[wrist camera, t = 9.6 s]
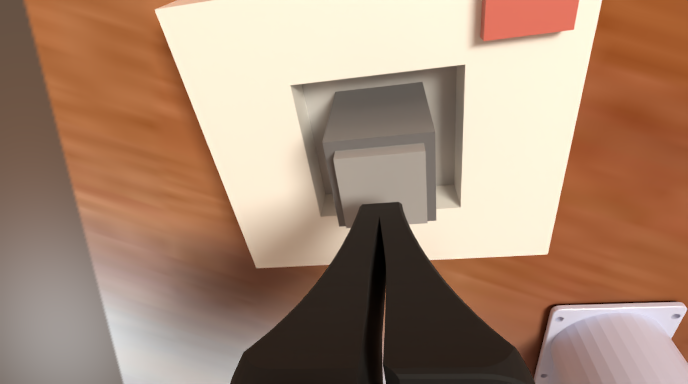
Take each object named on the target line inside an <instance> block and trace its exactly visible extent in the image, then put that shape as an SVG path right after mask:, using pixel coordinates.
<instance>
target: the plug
mask: <svg viewBox="0 0 688 384" xmlns="http://www.w3.org/2000/svg"><path fill="white" fill-rule="evenodd" d="M322 143H323V148H324V153H325V158H326V163H327V168H328V173H329V178H330V183H331V188H332V193H333V198H334V203H335V208H336V213H337V218H338V223H339V227H342V226H346V228H351V227H352V225H353V223H354V220H355V218H356V215H357V213H358V210H359V207H360V206H361V205H362V204H374V203H388V202H400V203H401V204H402V207H403V211H404V214H405V217H406V219H407V221H408V224H423V223H428V222H427V221H436V149H435V129H434V125H433V121H432V117H431V113H430V109H429V105H428V101H427V98H426V94H425V90H424V86H423V82H416V83H408V84H399V85H390V86H381V87H373V88H364V89H355V90H346V91H338V92H335V95H334V99H333V103H332V107H331V111H330V115H329V119H328V122H327V126H326V130H325V134H324V138H323V142H322Z"/></svg>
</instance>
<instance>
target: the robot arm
mask: <svg viewBox="0 0 688 384" xmlns="http://www.w3.org/2000/svg"><path fill="white" fill-rule="evenodd" d="M385 289H386V311H385V338H384V357H383V367H384V373H385V380H386V384H688V363H687V362H686V360H685V359H684V357H683V356H682V355H681V353H680V352H679V350H678V349H677V347H676V346H675V344H674V343H673V341H672V340H671V338H672V336H673V334H674V332H675V331H676V329H677V327H678V325H679V324H680V322H681V320H682V318H683V316H684V315H685V313H686V311H687V308H686V306H685V305H684V304H683V303H681V302H656V303H622V304H588V305H559V306H555V307H553V308H552V309H551V312H550V316H549V320H548V324H547V328H546V332H545V336H544V340H543V344H542V348H541V352H540V356H539V360H538V364H537V368H536V372H535V376H534V379H533V377H532V375H531V373H530V371H529V369H528V368H527V366H526V364H525V362H524V361H523V359H522V357H521V356H520V354H519V352H518V351H517V349H516V348H515V347H514V346H513V345H511V344H510V343H509V342H508V341H506V340H505V339H504V338H503V337H501V336H500V335H499V334H498V333H497V332H495V331H494V330H493V329H492V328H491V327H489V326H488V325H487V324H486V323H485V322H484V321H483V320H482V319H481V318H480V317H478V316H477V315H476V314H475V313H474V312H473V311H472V310H471V309H470V308H469V307H468V306H467V305H466V304H465V303H464V301H463V300H462V299H461V298H460V297H459V296H458V295H457V294H456V293H455V292H454V291H453V290H452V289H451V287H450V286H449V285H448V284H447V283H446V282H445V280H444V279H443V278H442V277H441V275H440V274H439V273H438V271H437V270H436V269H435V267H434V266H433V265H432V263H431V262H430V260H429V259H428V257H427V256H426V254H425V253H424V251H423V250H422V248H421V246H420V245H419V243H418V241H417V239H416V238H415V236H414V234H413V232H412V230H411V228H410V226H409V224H408V221H407V219H406V217H405V214H404V211H403V207H402V204H401V203H400V202H388V203H374V204H362V205H361V206H360V207H359V210H358V213H357V215H356V218H355V220H354V223H353V225H352V227H351V229H350V231H349V233H348V235H347V237H346V238H345V240H344V242H343V244H342V246H341V248H340V249H339V251H338V252H337V254H336V256H335V257H334V259H333V260H332V262H331V264H330V265H329V267H328V268H327V269H326V271H325V272H324V274H323V275H322V276H321V278H320V279H319V280H318V282H317V283H316V284H315V285H314V287H313V288H312V289H311V290H310V291H309V292H308V294H307V295H306V296H305V297H304V298H303V299H302V301H301V302H300V303H299V304H298V305H297V306H296V307H295V308H294V309H293V310H292V311H291V312H290V313H289V314H288V315H287V316H286V317H285V318H284V319H283V320H282V321H281V322H280V323H278V324H277V325H276V326H275V327H274V328H273V329H272V330H271V331H270V332H269V333H267V334H266V335H265V336H264V337H262V338H261V339H260V340H259V341H257V342H256V343H255V344H254V345H252V346H251V347H250V348H249V349H247V350H246V351H245V352H244V353H243V355H242V357H241V359H240V361H239V363H238V366H237V368H236V370H235V372H234V375H233V377H232V380H231V383H230V384H383V372H382V330H383V316H384V303H385ZM534 381H535V382H534Z"/></svg>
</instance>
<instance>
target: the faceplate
mask: <svg viewBox="0 0 688 384" xmlns="http://www.w3.org/2000/svg"><path fill="white" fill-rule="evenodd" d="M601 2H602V0H177V1H175V2H172V3H170V4H167V5H165V6H162V7H160V8H157V9H155V12H156V14H157V17H158V19H159V22H160V24H161V27H162V29H163V32H164V35H165V37H166V40H167V42H168V45H169V47H170V50H171V52H172V55H173V57H174V60H175V63H176V65H177V68H178V70H179V73H180V75H181V78H182V80H183V83H184V85H185V88H186V91H187V93H188V96H189V98H190V101H191V103H192V106H193V108H194V111H195V113H196V116H197V119H198V121H199V124H200V126H201V129H202V131H203V134H204V136H205V139H206V141H207V144H208V147H209V149H210V152H211V154H212V157H213V159H214V162H215V164H216V167H217V169H218V172H219V175H220V177H221V180H222V182H223V185H224V187H225V190H226V192H227V195H228V197H229V200H230V203H231V205H232V208H233V210H234V213H235V215H236V218H237V220H238V223H239V225H240V228H241V231H242V233H243V236H244V238H245V241H246V243H247V246H248V248H249V251H250V253H251V256H252V259H253V261H254V264H255V266H256V268H273V267H294V266H315V265H330V264H331V262H332V260H333V259H334V257H335V256H336V254H337V252H338V251H339V249H340V248H341V246H342V244H343V242H344V240H345V238H346V237H347V235H348V233H349V231H350V229H351V228H346V226H342V227H339V223H338V218H337V213H336V208H335V203H334V198H333V193H332V188H331V183H330V178H329V173H328V168H327V163H326V158H325V153H324V148H323V143H322V142H323V138H324V134H325V130H326V126H327V122H328V119H329V115H330V111H331V107H332V103H333V99H334V95H335V92H338V91H346V90H355V89H364V88H373V87H381V86H390V85H399V84H408V83H416V82H423V86H424V90H425V94H426V98H427V101H428V105H429V109H430V113H431V117H432V121H433V125H434V129H435V149H436V221H427V222H428V223H423V224H409V226H410V228H411V230H412V232H413V234H414V236H415V238H416V239H417V241H418V243H419V245H420V246H421V248H422V250H423V251H424V253H425V254H426V256H427V257H428V259H429V260H440V259H461V258H482V257H503V256H524V255H544V254H548V250H549V245H550V241H551V236H552V231H553V227H554V222H555V217H556V213H557V208H558V203H559V198H560V194H561V189H562V184H563V180H564V175H565V170H566V166H567V161H568V156H569V152H570V147H571V142H572V138H573V133H574V128H575V124H576V119H577V114H578V110H579V105H580V100H581V96H582V91H583V86H584V82H585V77H586V72H587V67H588V63H589V58H590V53H591V49H592V44H593V39H594V35H595V30H596V25H597V21H598V16H599V11H600V7H601Z"/></svg>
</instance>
